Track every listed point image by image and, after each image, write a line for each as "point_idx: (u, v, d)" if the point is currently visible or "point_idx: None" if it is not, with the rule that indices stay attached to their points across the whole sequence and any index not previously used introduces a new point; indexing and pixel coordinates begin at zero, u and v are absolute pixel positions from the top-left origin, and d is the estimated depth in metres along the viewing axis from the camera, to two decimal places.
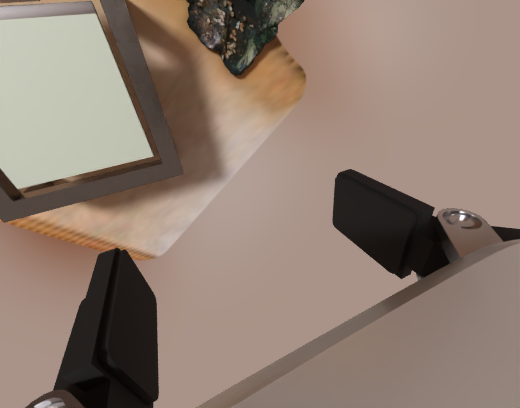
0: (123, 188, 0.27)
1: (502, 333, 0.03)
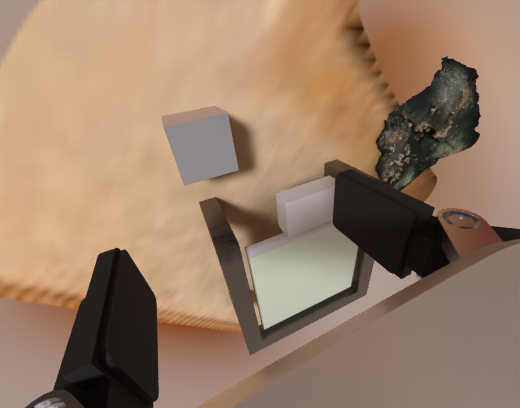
0: (326, 314, 0.32)
1: (503, 333, 0.03)
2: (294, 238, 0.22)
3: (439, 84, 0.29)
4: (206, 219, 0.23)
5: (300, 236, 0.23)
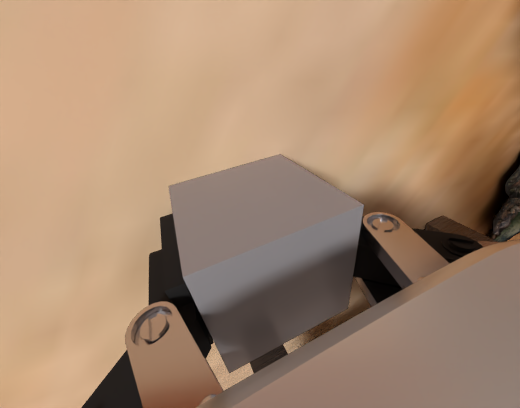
0: None
1: (502, 333, 0.03)
2: None
3: None
4: None
5: None
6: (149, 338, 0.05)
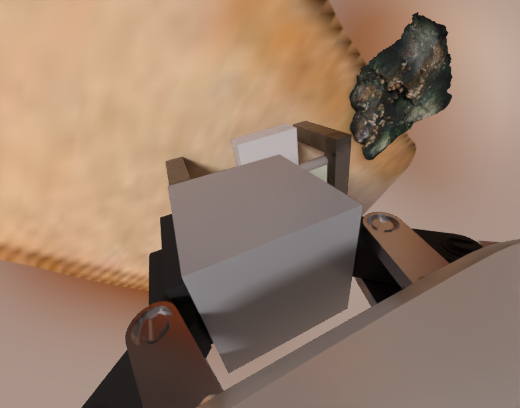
0: None
1: (502, 333, 0.03)
2: None
3: (410, 38, 0.30)
4: (168, 172, 0.23)
5: None
6: (149, 338, 0.05)
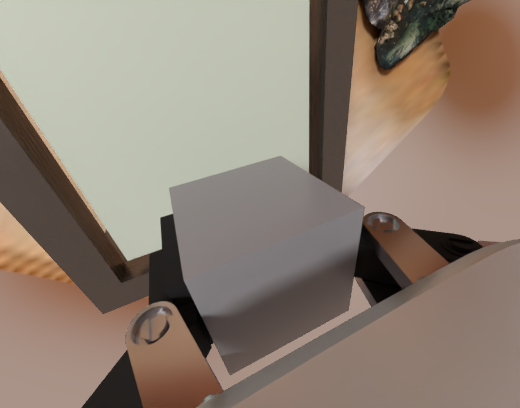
0: None
1: (502, 333, 0.03)
2: None
3: None
4: None
5: None
6: (149, 338, 0.05)
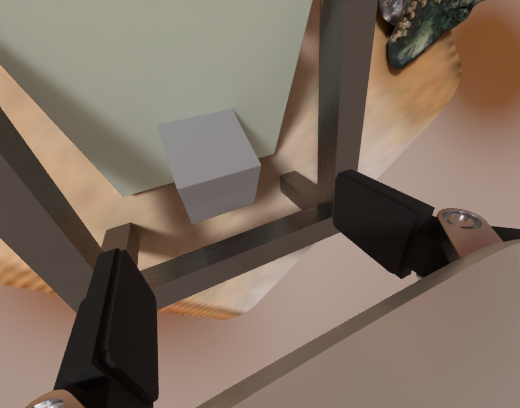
0: (273, 258, 0.17)
1: (502, 333, 0.03)
2: None
3: None
4: None
5: None
6: None
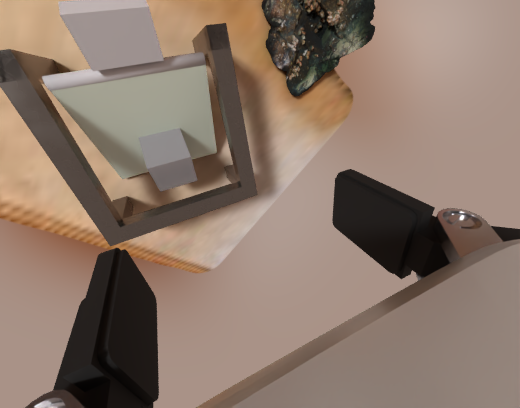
0: (207, 210, 0.30)
1: (502, 333, 0.03)
2: (109, 76, 0.20)
3: None
4: None
5: (117, 75, 0.20)
6: None
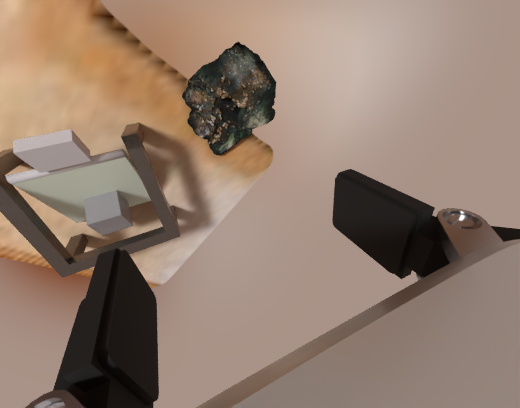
0: (139, 249, 0.40)
1: (502, 333, 0.03)
2: (53, 172, 0.30)
3: (228, 59, 0.38)
4: None
5: (59, 171, 0.30)
6: None
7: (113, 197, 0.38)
